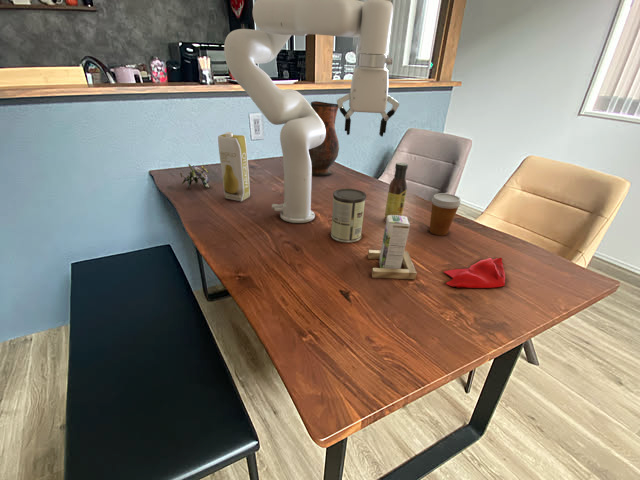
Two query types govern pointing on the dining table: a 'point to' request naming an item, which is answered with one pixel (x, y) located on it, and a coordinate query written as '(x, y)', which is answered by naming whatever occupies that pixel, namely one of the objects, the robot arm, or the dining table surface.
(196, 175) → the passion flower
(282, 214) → the robot arm
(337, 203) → the coffee can
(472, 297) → the dining table surface
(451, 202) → the disposable coffee cup
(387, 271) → the stop frame
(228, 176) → the juice carton
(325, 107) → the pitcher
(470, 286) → the cloth
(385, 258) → the syrup box
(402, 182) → the sauce bottle
